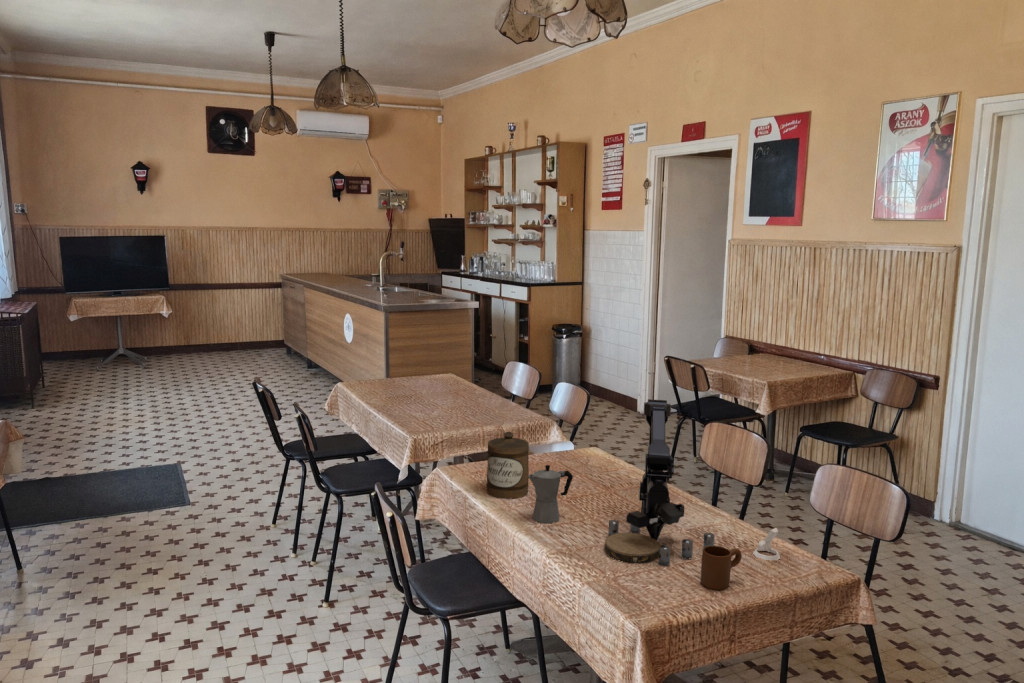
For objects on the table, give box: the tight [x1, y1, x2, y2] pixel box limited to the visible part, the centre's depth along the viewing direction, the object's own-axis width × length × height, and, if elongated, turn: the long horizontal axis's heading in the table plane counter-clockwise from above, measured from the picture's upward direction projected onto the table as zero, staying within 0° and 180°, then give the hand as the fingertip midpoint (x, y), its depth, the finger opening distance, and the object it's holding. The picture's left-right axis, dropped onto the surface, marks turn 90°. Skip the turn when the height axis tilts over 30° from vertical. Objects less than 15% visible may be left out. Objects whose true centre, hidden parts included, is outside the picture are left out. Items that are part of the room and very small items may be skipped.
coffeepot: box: [528, 464, 573, 524], centre depth 247 cm, size 15×9×18 cm, turn 107°
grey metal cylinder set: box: [607, 519, 715, 567], centre depth 229 cm, size 25×21×5 cm
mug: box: [700, 545, 743, 591], centre depth 204 cm, size 12×8×9 cm, turn 114°
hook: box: [752, 527, 781, 561], centre depth 220 cm, size 8×12×7 cm
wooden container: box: [486, 431, 530, 499], centre depth 271 cm, size 15×15×22 cm
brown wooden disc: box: [604, 532, 661, 565], centre depth 223 cm, size 16×16×3 cm
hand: (654, 541), depth 228 cm, fingers closed
